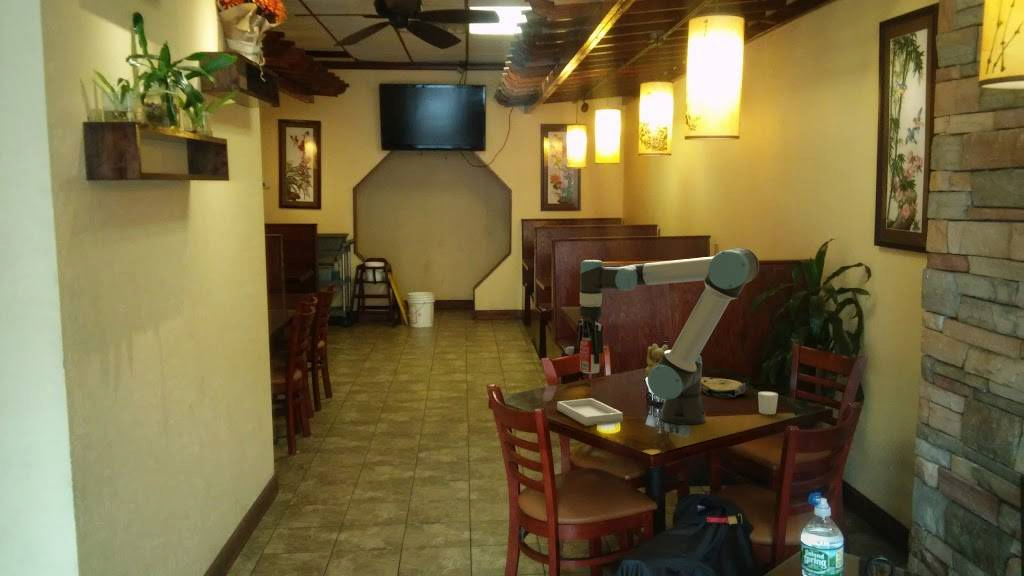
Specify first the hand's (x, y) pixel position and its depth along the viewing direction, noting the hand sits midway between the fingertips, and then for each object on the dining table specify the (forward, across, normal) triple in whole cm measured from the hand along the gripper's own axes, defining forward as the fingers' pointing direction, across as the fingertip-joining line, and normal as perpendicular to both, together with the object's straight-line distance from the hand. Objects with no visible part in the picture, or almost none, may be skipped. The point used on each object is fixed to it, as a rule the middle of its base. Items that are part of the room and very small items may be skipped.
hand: (589, 370), depth 289 cm
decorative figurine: (+16, +39, -53) cm, 68 cm away
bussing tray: (+16, 0, 0) cm, 16 cm away
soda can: (+1, 0, 0) cm, 1 cm away
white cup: (+16, -20, -61) cm, 66 cm away
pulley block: (+16, +14, -62) cm, 66 cm away
